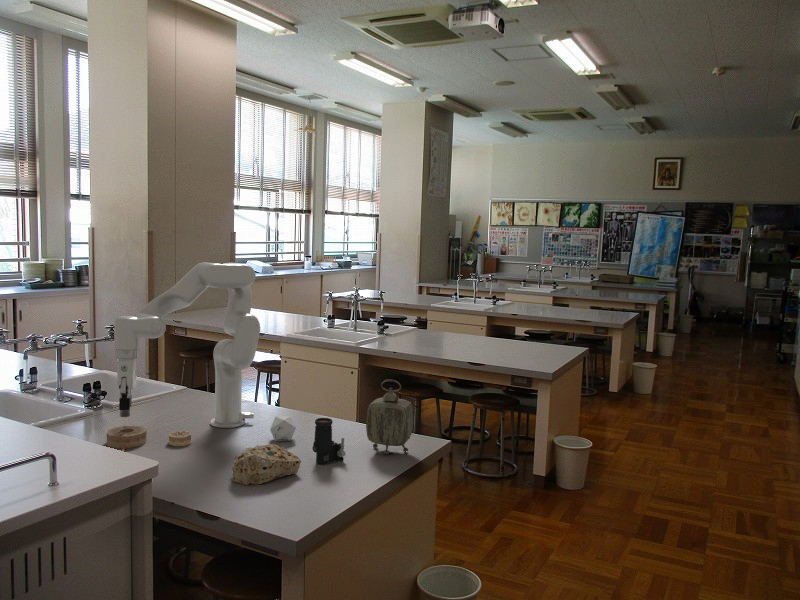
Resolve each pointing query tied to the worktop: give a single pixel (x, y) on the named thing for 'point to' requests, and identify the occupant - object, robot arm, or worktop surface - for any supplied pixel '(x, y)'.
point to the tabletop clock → (389, 420)
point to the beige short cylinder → (179, 438)
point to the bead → (126, 436)
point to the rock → (264, 464)
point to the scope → (326, 443)
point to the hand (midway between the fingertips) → (125, 407)
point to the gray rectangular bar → (126, 412)
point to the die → (282, 428)
